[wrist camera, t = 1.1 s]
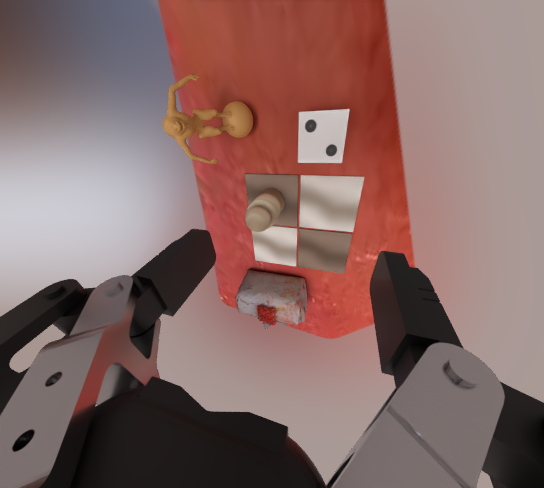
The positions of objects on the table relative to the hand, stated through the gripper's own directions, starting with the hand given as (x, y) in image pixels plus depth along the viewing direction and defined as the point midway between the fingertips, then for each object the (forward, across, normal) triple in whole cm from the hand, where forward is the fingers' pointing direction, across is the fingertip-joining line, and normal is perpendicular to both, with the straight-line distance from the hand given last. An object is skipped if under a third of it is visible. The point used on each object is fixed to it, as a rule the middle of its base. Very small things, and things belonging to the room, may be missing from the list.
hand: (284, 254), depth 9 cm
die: (+22, 0, -3) cm, 22 cm away
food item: (+22, +7, +26) cm, 35 cm away
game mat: (+22, +3, +11) cm, 25 cm away
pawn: (+22, +7, +7) cm, 24 cm away
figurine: (+22, +12, -5) cm, 26 cm away
